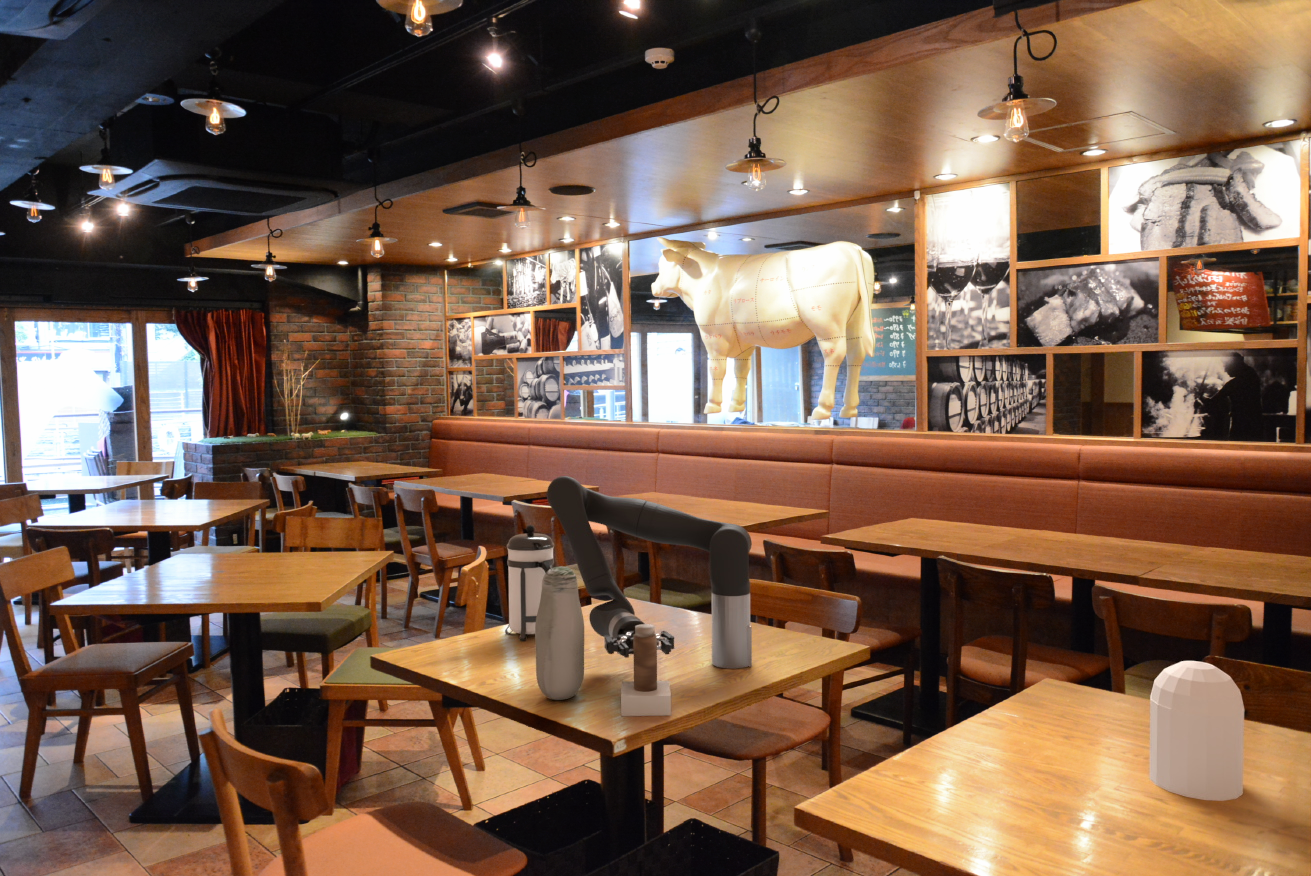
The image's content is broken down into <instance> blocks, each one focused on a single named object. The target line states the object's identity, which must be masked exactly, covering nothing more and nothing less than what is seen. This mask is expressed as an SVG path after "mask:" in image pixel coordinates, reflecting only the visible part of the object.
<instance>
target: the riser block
mask: <svg viewBox="0 0 1311 876" xmlns="http://www.w3.org/2000/svg"><path fill="white" fill-rule="evenodd" d="M620 684H621V687H620V688H621V690H620V691H621V692H620V706H621V707H620V708H621V709H620V710H621V712H620V714H621V715H620V716H621V717H640V716H641V717H645V716H649V717H651V716H653V717H654V716H657V717H658V716H672V695H671V694H672V693H671V685H670V681H669V680H657V689H656V690H654V691H650V692H641V691H636V690H635V689H634V680H632V681H630V680H629V681H627V680H624V681H621V683H620Z"/></svg>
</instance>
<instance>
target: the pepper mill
mask: <svg viewBox="0 0 1311 876" xmlns="http://www.w3.org/2000/svg"><path fill="white" fill-rule="evenodd" d="M655 627H656V626H655V625H654V624H650V623H649V624H648V623H645V624H641V625H636V626H635V634H634V635H633V653H634V654H633V681H634V689H635V690H636V691H641V692H650V691H654V690H656V689H657V681H658V650H657V635H656V634H657V633H656V631H655V629H656V628H655Z"/></svg>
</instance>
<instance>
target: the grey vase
mask: <svg viewBox="0 0 1311 876" xmlns="http://www.w3.org/2000/svg"><path fill="white" fill-rule="evenodd" d="M578 584H579V583H578V578H577V575H576V574H575V571H573V569H571V568H570V567H567V566H563V565H561V566H553V568H551V569H549V570H548V571H547V572H546V573H545V575H544V577H543V580H542V592H541V599H540V604H539V609H538V612H537V617H536V624H535V634H534V636H535V637H534V643H535V672H536V681H537V686H538V688H539V690H540V691H541V693H542V694H543V695H544V696H545V697H546V698H547V699H550V700H554V701H565V700H569V699H570V698H572V697H574V696H575V695H576V694H577V693H578V692H579V691H580V689H581V687H582V685H583V682H584V678H585V619H584V614H583V609H582V605H581V603H580V602H581V601H580V596H579V587H578V586H579V585H578Z"/></svg>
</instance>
